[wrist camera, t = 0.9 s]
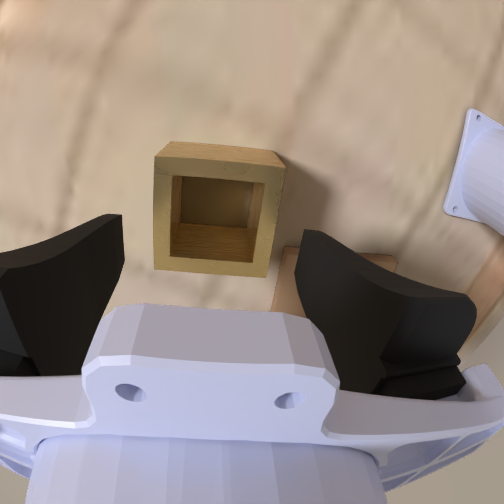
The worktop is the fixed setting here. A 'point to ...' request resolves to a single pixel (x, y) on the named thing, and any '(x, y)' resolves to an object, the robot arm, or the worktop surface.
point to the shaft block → (286, 285)
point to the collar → (211, 236)
